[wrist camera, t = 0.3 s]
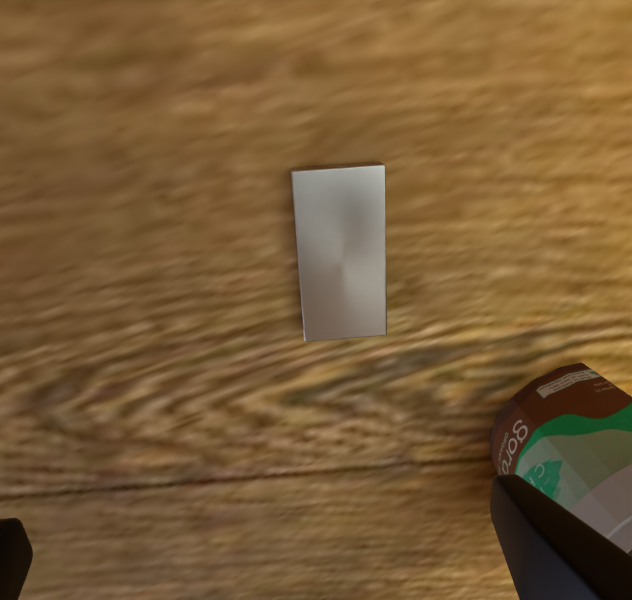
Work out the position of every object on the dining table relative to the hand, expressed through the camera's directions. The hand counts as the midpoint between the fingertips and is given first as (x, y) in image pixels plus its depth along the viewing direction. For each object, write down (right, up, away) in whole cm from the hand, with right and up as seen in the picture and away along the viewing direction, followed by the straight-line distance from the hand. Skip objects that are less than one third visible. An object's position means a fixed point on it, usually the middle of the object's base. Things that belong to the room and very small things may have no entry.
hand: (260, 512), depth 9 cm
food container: (+13, -4, +18) cm, 22 cm away
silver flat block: (+2, +6, +13) cm, 15 cm away
